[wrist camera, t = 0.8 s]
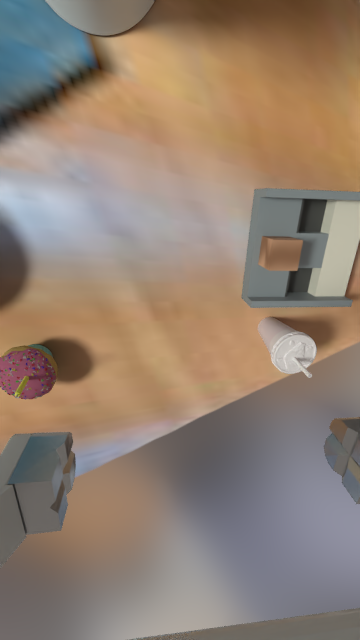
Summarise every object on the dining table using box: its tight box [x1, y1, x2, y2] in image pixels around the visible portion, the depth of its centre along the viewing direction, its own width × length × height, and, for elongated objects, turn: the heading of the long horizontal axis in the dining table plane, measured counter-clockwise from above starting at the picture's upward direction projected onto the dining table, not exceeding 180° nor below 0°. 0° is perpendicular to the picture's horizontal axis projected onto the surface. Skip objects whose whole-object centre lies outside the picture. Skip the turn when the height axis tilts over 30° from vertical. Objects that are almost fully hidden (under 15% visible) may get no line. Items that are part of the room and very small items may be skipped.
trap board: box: [242, 188, 360, 308], centre depth 42 cm, size 16×16×4 cm
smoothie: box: [258, 317, 317, 378], centre depth 42 cm, size 6×6×14 cm
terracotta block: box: [258, 236, 303, 271], centre depth 39 cm, size 4×4×4 cm
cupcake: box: [0, 344, 58, 399], centre depth 41 cm, size 9×8×12 cm
